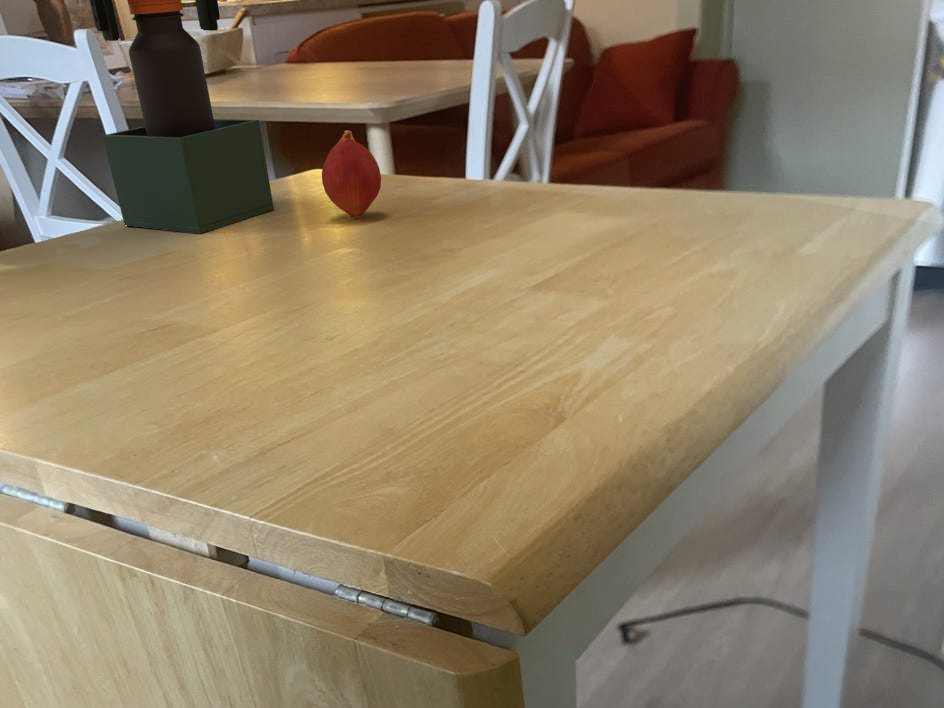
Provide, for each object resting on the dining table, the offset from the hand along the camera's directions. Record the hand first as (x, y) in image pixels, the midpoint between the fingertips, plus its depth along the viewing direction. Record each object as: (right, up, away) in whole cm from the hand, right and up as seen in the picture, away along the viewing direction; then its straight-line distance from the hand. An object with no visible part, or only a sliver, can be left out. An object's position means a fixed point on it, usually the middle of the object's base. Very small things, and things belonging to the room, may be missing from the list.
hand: (161, 35), depth 97 cm
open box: (+1, -14, +9) cm, 17 cm away
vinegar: (+1, -13, +9) cm, 16 cm away
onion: (+18, -16, +5) cm, 25 cm away
